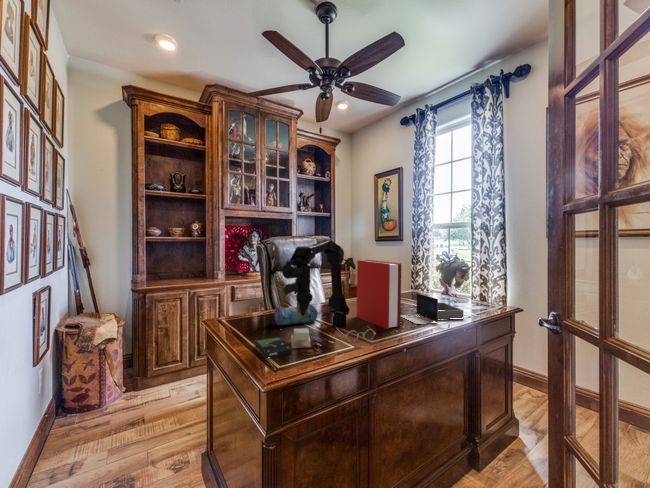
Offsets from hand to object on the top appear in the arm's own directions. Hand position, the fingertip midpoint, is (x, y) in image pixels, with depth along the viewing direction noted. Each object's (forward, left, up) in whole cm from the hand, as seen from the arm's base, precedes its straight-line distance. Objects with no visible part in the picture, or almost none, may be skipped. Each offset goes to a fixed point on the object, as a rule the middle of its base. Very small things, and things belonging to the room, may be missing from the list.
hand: (302, 314), depth 124 cm
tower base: (+1, +1, -13) cm, 13 cm away
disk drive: (+12, +6, -13) cm, 18 cm away
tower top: (0, +1, -10) cm, 10 cm away
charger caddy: (-83, -37, -12) cm, 92 cm away
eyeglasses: (-25, -9, -13) cm, 29 cm away
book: (-42, -28, -12) cm, 52 cm away
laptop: (-65, -30, -13) cm, 73 cm away
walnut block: (0, 0, -1) cm, 1 cm away
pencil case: (+1, -30, -13) cm, 32 cm away
